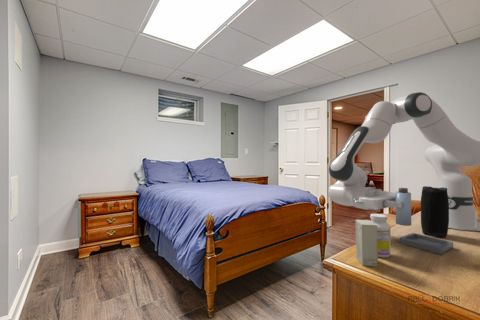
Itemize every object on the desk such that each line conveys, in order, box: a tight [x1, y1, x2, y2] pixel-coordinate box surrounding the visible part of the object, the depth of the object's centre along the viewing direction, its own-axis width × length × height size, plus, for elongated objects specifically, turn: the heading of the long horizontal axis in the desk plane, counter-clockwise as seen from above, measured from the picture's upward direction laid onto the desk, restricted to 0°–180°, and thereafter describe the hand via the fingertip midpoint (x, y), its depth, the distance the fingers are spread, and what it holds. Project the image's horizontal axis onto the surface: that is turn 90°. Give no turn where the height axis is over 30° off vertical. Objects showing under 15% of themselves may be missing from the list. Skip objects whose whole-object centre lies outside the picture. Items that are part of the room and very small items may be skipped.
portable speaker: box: [420, 186, 449, 239], centre depth 92 cm, size 9×9×20 cm
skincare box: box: [355, 219, 379, 267], centre depth 68 cm, size 6×4×12 cm
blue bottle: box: [395, 187, 412, 227], centre depth 78 cm, size 4×4×12 cm
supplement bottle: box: [369, 213, 392, 258], centre depth 74 cm, size 7×7×13 cm
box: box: [398, 232, 454, 256], centre depth 81 cm, size 11×12×2 cm
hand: (406, 204), depth 77 cm, fingers closed on blue bottle, 4 cm apart
